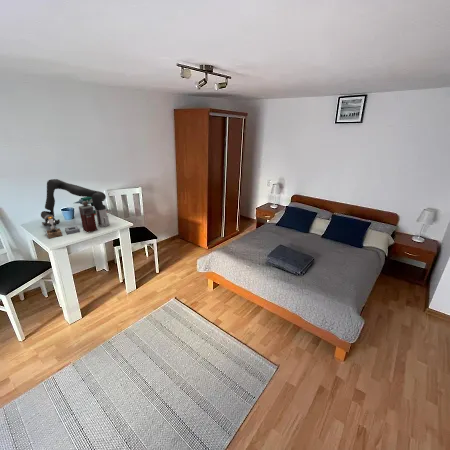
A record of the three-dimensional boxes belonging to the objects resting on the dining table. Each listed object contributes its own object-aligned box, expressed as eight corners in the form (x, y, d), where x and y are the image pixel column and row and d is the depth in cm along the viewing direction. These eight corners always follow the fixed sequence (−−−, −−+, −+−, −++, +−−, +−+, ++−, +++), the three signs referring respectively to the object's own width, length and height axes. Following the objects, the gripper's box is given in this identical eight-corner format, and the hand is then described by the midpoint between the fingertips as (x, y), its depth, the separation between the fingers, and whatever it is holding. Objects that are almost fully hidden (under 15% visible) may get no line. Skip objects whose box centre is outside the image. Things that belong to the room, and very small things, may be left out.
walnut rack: (60, 232, 222) (59, 228, 221) (62, 235, 215) (61, 231, 214) (47, 234, 216) (46, 230, 215) (48, 238, 209) (47, 234, 208)
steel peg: (57, 233, 217) (53, 216, 211) (54, 234, 214) (50, 217, 208) (54, 233, 217) (49, 216, 211) (51, 234, 214) (46, 217, 208)
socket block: (77, 228, 231) (76, 225, 230) (79, 231, 224) (79, 228, 223) (65, 231, 225) (64, 228, 224) (67, 234, 218) (66, 231, 217)
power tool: (77, 219, 254) (73, 201, 247) (74, 217, 258) (70, 199, 250) (107, 212, 278) (104, 195, 270) (103, 210, 282) (101, 194, 274)
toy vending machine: (88, 233, 221) (82, 203, 211) (83, 230, 228) (77, 201, 218) (98, 230, 228) (92, 201, 217) (93, 227, 234) (87, 199, 224)
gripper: (39, 217, 216) (41, 223, 204) (58, 214, 225) (61, 219, 213) (41, 225, 219) (43, 231, 207) (59, 221, 228) (63, 227, 215)
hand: (52, 225), depth 210 cm, fingers closed on steel peg, 3 cm apart
